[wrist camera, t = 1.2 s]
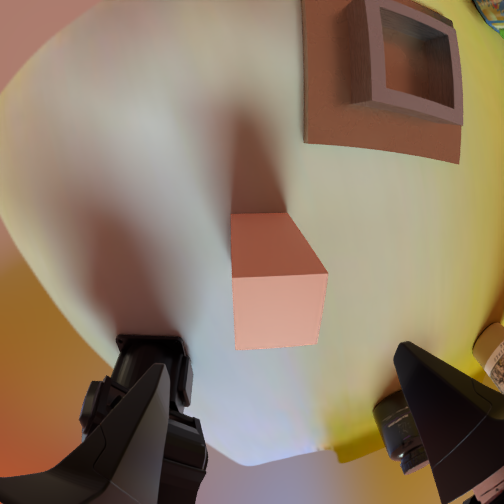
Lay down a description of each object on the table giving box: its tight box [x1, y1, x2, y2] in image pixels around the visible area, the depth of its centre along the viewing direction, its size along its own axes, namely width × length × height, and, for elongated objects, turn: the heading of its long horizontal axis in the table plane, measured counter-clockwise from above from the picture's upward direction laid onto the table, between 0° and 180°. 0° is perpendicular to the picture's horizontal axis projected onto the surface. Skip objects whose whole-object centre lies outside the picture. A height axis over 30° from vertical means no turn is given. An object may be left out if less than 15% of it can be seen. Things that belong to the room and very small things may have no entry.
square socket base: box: [301, 0, 463, 164], centre depth 13 cm, size 14×14×4 cm
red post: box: [231, 213, 328, 350], centre depth 16 cm, size 4×4×9 cm
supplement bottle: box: [373, 391, 429, 475], centre depth 27 cm, size 7×7×12 cm
